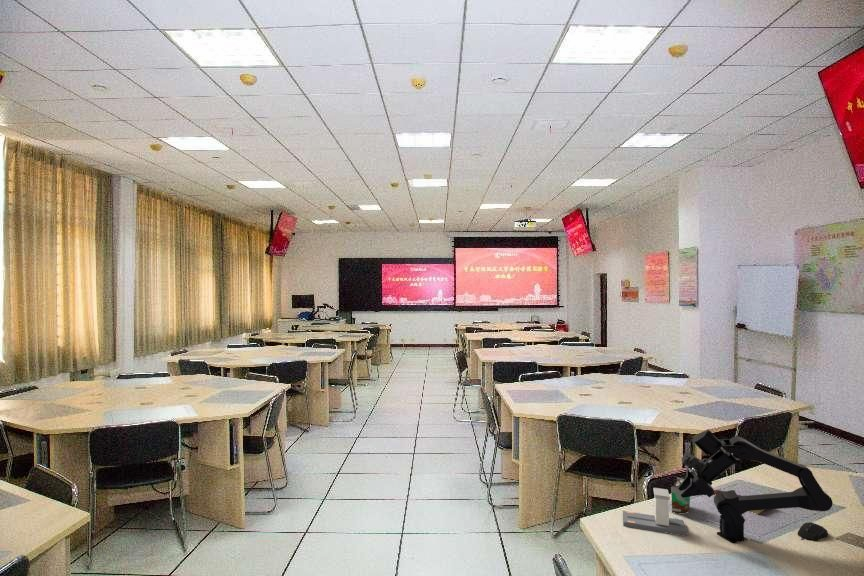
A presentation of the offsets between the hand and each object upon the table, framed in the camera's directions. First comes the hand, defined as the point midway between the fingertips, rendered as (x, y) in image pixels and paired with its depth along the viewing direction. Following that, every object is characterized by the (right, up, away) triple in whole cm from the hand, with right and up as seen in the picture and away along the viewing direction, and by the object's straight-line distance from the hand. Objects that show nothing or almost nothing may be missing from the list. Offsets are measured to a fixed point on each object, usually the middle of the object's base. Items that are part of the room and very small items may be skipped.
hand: (680, 493), depth 164 cm
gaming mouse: (+42, -13, -4) cm, 44 cm away
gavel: (+34, -14, +22) cm, 43 cm away
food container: (+9, -13, +15) cm, 21 cm away
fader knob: (-6, -11, +2) cm, 12 cm away
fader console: (-8, -13, +3) cm, 15 cm away
